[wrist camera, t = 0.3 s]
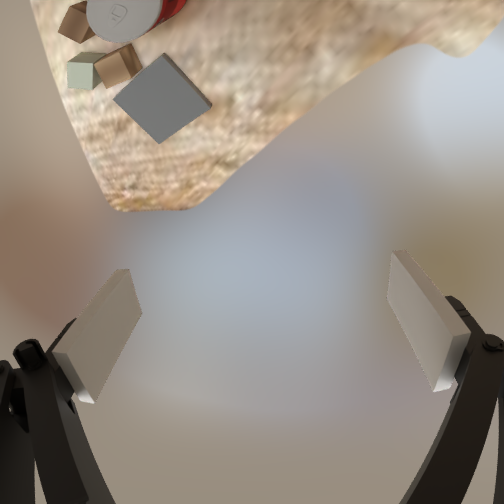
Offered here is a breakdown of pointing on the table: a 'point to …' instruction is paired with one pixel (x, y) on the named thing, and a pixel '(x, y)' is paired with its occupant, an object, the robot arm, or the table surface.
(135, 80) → the plate
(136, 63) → the teak block
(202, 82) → the table surface
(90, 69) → the sage painted block
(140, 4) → the canned food
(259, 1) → the table surface
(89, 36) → the walnut block
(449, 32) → the table surface
